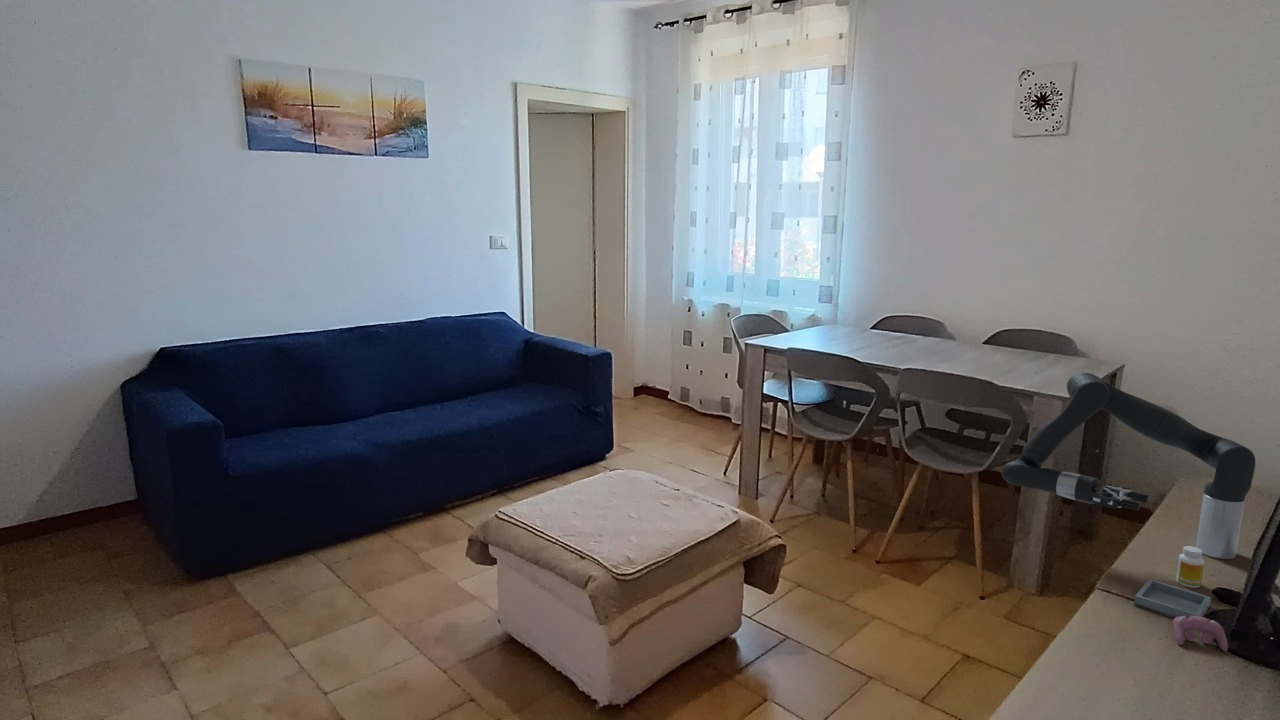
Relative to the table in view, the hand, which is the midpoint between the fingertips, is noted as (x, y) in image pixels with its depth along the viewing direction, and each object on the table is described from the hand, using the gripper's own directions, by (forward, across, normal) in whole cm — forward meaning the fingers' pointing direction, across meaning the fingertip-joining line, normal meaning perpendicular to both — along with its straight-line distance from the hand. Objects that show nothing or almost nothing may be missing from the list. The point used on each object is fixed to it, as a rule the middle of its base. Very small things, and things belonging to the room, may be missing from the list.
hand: (1143, 503), depth 198 cm
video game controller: (+20, -32, +19) cm, 43 cm away
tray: (+12, -17, +19) cm, 28 cm away
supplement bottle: (+12, 0, +19) cm, 23 cm away
